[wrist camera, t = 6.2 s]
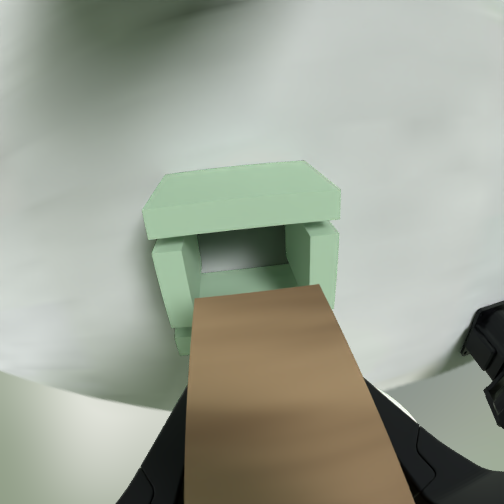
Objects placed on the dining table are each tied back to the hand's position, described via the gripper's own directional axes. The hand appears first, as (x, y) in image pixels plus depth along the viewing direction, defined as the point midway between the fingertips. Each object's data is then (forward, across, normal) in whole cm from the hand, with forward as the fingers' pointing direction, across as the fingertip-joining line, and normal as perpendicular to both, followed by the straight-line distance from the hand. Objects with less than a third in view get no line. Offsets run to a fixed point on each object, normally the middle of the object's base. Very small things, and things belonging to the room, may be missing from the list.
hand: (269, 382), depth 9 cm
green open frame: (+12, 0, 0) cm, 12 cm away
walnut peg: (+2, 0, 0) cm, 2 cm away
